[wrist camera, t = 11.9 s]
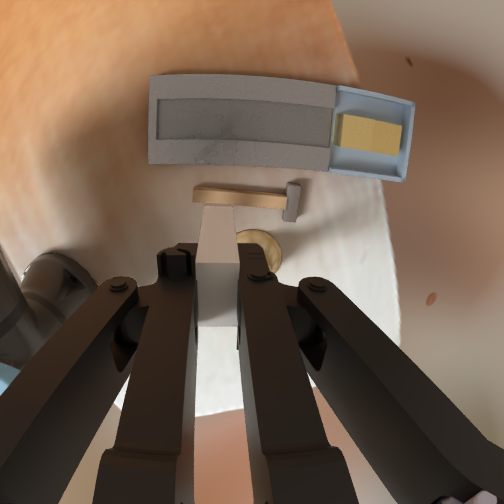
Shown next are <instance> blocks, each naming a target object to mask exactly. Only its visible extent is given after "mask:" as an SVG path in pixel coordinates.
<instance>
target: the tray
mask: <svg viewBox="0 0 504 504" xmlns="http://www.w3.org/2000/svg"><path fill="white" fill-rule="evenodd" d="M415 105H416V104H415V102H412V101H408V100H404V99H401V98H397V97H393V96H389V95H384V94H380V93H376V92H371V91H367V90H362V89H357V88H352V87H347V86H342V85H340V86H336V97H335V108H334V109H332V119H331V130H330V139H329V148H330V157H329V165H328V171H329V172H330V173H331V174H340V175H350V176H358V177H366V178H374V179H382V180H389V181H396V182H403V183H405V179H406V173H407V167H408V161H409V154H410V147H411V140H412V132H413V123H414V115H415ZM336 113H337V114H346V115H352V116H358V117H363V118H368V119H373V120H378V121H382V122H387V123H392V124H396V125H401V126H402V131H401V139H400V146H399V153H398V156H393V155H388V154H382V153H376V152H370V151H365V150H358V149H352V148H344V147H339V146H337V145H334V144H333V136H334V127H335V117H336Z"/></svg>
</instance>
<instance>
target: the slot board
mask: <svg viewBox="0 0 504 504" xmlns="http://www.w3.org/2000/svg"><path fill="white" fill-rule="evenodd" d="M335 97H336V85H330V84H324V83H317V82H310V81H303V80H295V79H286V78H276V77H264V76H250V75H229V74H173V75H152V76H150V87H149V114H148V164H211V165H240V166H260V167H276V168H290V169H303V170H314V171H325V172H328V165H329V157H330V148H329V139H330V130H331V119H332V109H334V108H335Z"/></svg>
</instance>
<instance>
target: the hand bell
mask: <svg viewBox="0 0 504 504" xmlns="http://www.w3.org/2000/svg"><path fill="white" fill-rule="evenodd" d="M236 238H237V243H257V244H259V245H260V246H261V247H262V248H263V250H264V253H265V256H266V260H267V263H268V266H269V270H270V271H271V272H273V273H275V272H276V271H277V269H278V268H279V266H280V263H281V257H282V255H281V249H280V246H279V244H278V242H277V241H276V240H275V239H274V238H273V237H272V236H271V235H269V234H268V233H266V232H263V231H260V230H245V231H242V232H239V233H237V234H236Z"/></svg>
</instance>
